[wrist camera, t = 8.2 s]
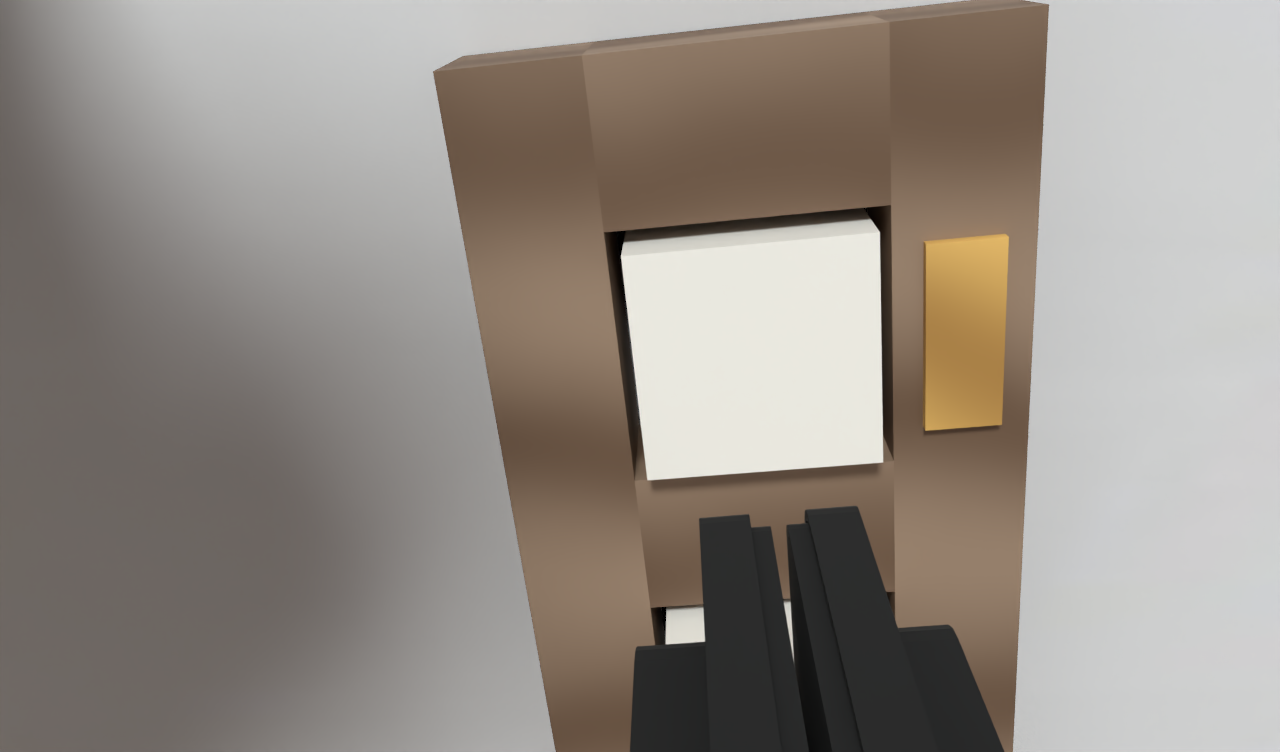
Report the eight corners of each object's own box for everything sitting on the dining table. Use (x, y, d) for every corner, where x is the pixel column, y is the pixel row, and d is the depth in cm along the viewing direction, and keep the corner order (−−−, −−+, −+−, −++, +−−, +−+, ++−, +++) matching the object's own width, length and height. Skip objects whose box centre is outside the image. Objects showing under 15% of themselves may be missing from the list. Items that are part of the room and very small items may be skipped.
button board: (462, 56, 19) (430, 73, 17) (1002, -4, 18) (1053, 5, 16) (623, 1012, 30) (618, 1110, 27) (970, 999, 29) (998, 1099, 26)
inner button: (628, 219, 20) (620, 256, 17) (856, 197, 19) (879, 231, 17) (650, 422, 21) (647, 480, 19) (860, 405, 21) (883, 462, 19)
